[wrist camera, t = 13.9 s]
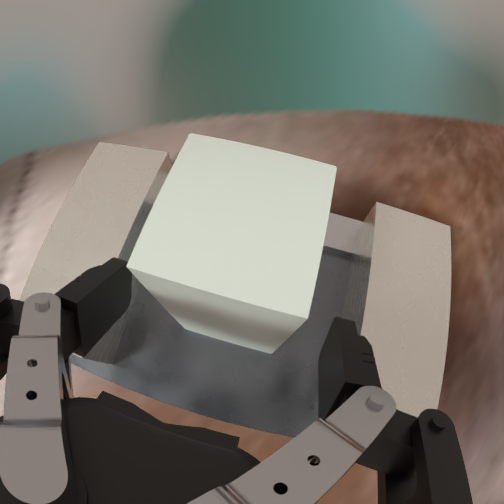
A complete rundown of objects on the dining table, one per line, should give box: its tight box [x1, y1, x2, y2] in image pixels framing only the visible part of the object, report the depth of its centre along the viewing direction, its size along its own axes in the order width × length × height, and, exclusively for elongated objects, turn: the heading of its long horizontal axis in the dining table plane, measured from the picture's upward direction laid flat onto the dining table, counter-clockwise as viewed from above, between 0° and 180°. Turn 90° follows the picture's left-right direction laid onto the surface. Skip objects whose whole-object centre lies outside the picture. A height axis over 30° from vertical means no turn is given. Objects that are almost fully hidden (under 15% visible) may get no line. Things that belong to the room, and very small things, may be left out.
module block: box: [126, 133, 337, 354], centre depth 14 cm, size 5×5×10 cm
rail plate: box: [20, 142, 451, 437], centre depth 17 cm, size 22×14×6 cm, turn 75°
